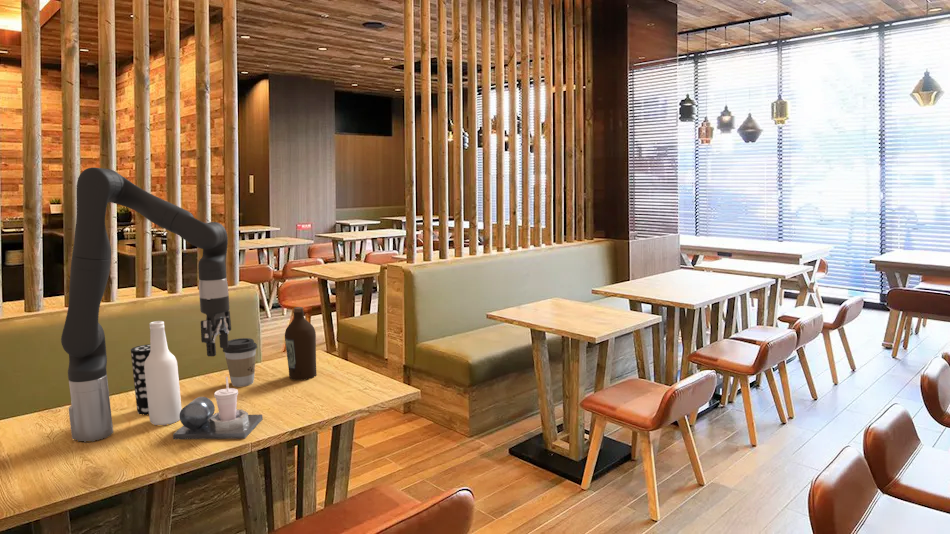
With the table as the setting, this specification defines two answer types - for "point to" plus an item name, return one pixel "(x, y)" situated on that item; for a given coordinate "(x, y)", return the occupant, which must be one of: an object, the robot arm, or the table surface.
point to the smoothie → (226, 402)
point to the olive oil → (301, 347)
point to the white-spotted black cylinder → (140, 377)
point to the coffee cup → (241, 361)
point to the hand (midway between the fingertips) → (218, 351)
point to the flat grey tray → (213, 422)
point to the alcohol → (162, 379)
